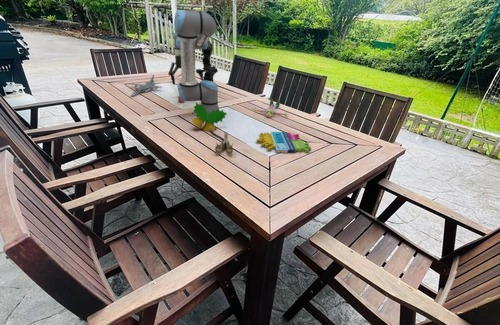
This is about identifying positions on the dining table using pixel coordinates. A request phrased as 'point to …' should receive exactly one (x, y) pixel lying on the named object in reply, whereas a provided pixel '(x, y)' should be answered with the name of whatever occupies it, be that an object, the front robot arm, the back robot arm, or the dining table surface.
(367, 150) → the dining table surface
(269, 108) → the toy
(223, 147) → the jawbone
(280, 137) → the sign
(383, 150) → the dining table surface
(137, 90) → the airplane
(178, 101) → the canister
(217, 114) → the ornament
